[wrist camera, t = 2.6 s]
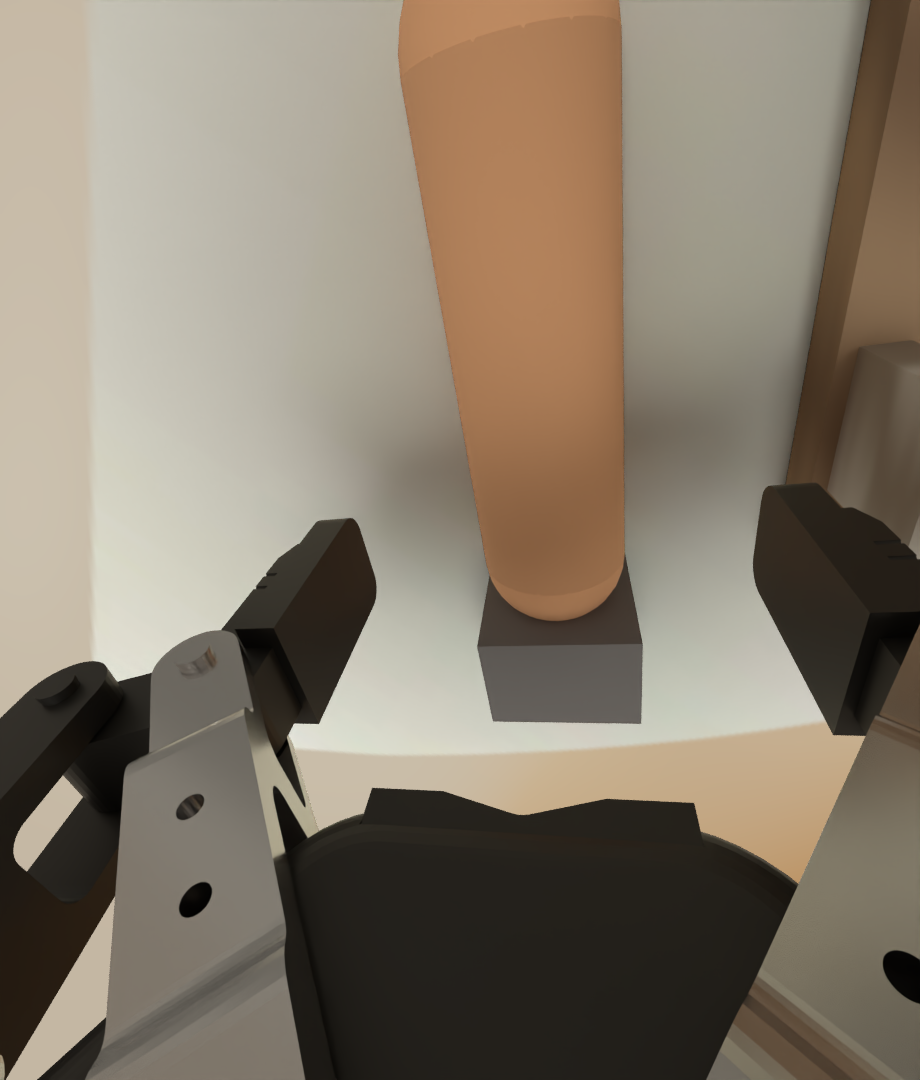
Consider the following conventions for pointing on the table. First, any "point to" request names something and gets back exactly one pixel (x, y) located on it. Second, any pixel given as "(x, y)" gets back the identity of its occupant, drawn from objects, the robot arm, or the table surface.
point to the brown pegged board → (871, 296)
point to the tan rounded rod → (534, 331)
